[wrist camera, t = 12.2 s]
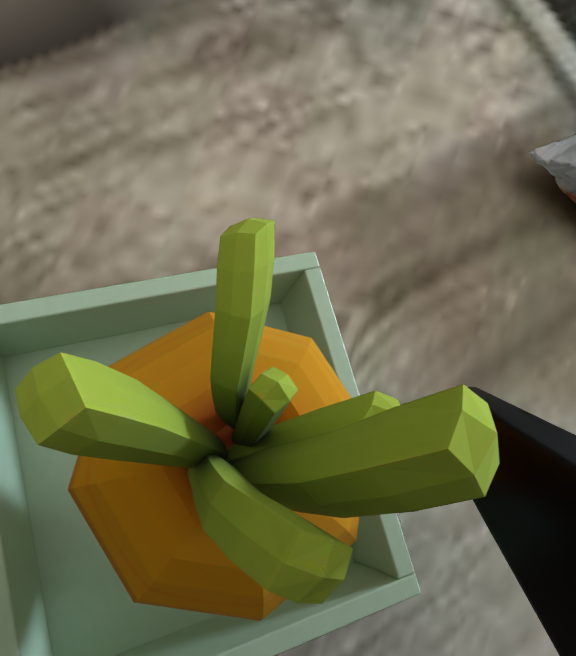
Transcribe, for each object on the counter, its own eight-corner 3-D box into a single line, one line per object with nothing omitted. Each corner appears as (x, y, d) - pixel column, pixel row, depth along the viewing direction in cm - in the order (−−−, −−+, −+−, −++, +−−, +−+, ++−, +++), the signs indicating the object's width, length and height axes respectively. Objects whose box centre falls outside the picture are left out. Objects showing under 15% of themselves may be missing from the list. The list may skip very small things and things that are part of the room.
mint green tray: (368, 570, 19) (422, 593, 15) (41, 700, 15) (7, 772, 12) (286, 290, 21) (315, 250, 17) (-15, 348, 18) (-59, 313, 14)
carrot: (80, 490, 17) (-275, 549, 3) (172, 370, 19) (239, 42, 5) (203, 575, 17) (452, 1023, 3) (283, 448, 19) (665, 360, 5)
